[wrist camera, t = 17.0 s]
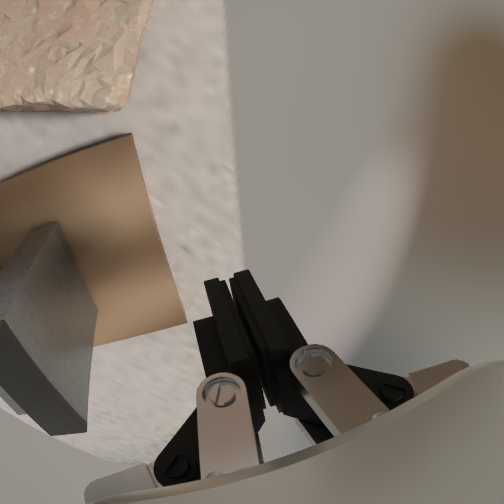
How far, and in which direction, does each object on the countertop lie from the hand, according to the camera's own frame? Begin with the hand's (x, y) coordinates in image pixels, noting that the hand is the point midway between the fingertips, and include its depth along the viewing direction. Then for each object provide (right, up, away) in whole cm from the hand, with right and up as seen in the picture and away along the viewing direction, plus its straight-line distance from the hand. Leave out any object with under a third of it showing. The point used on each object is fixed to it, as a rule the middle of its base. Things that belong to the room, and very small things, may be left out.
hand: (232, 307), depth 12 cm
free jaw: (-12, 0, +3) cm, 13 cm away
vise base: (-14, 0, +4) cm, 15 cm away
